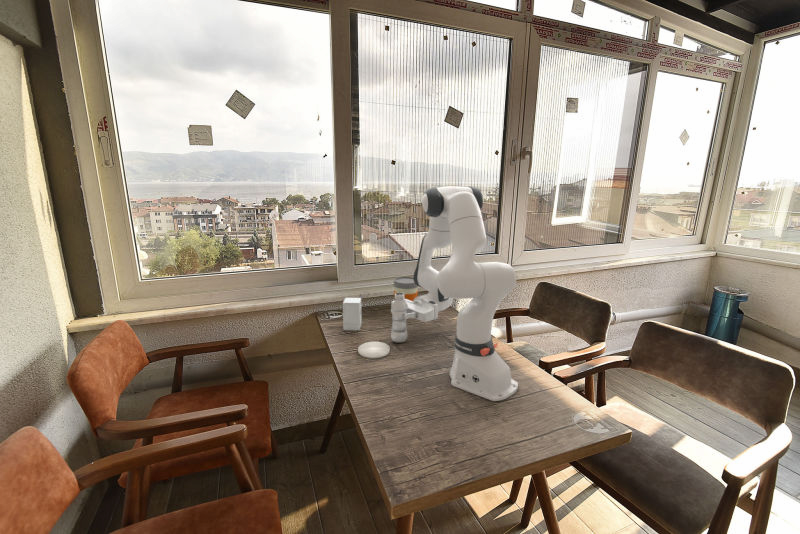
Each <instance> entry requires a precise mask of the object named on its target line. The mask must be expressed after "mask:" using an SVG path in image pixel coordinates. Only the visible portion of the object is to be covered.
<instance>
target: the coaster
mask: <svg viewBox="0 0 800 534" xmlns="http://www.w3.org/2000/svg"><path fill="white" fill-rule="evenodd" d="M390 349H391V348H390V346H389V344H387V343H385V342H383V341H381V342H380V341H368V342H364V343H362V344H360V345H359V346H358V348H357V351H358V355H360V356H362V357H364V358H368V359H380V358H383V357H386V356H388V355H389V354H390V351H391V350H390Z"/></svg>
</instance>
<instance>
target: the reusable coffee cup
mask: <svg viewBox="0 0 800 534" xmlns="http://www.w3.org/2000/svg"><path fill="white" fill-rule="evenodd" d="M393 287H394V290H393V294H394V296H395V293H404V297H405V299H408V300H410V301H413V300H414V299H415V298H416V297H418V294H419V290H418V288H419V286H417V285H416V284H415V283H414V278H413V276H399V277H396V278H394V279H393Z"/></svg>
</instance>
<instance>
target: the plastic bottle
mask: <svg viewBox="0 0 800 534" xmlns="http://www.w3.org/2000/svg"><path fill="white" fill-rule="evenodd" d="M404 299H405V297H404V293H395V295H394V300H395V301H394V300H393V301H394V302H393V304H392V306H391V305H390V307H391V309H392V313H391V314H392V325H391V333H390V338H391V339H390V340H392V342H395V343H397V344H398V343H405V342H406V340H407V338H408V330H407V319H405V318H403V314H405V313H407V310H408V305H407V303H406V302H405V300H404ZM391 309H390V310H391Z"/></svg>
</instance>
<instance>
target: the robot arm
mask: <svg viewBox="0 0 800 534" xmlns="http://www.w3.org/2000/svg"><path fill="white" fill-rule="evenodd" d="M421 199H422V200H421V201H422V202H421V205H422V209H423V212H424V214H425V215H426V216H428V217H429V223H428V224H429V226H428V231H427V233H425V234H424V236H423V238H422V240H421V243H420V247H419V251H418V252H419V253H418V256H417V257H418V259H417V263H416V267H415V269H414V272H413V275H412V277H413V278H414V283H415V284H416V285H417V286H418V288H422V289H423V290H426V291H428V293H426V294H423V295H419V296H417V297H416V298H415V299H414V300H413V301H410V300H408V299H404V300H405V302H406V303H407V305H408V310H407V313H405V314H403V318H405V319H406V320H408V319H415V320H418V321H421V322H424V323H425V322H430V321H434V320H437V319H438V316H439V315H438V313H439V312H441V311H444V310H446V309H448V308H449V307H450V306H452V304H453V302H454V299H457V300H458V299H459V300H463V299H465V300H466V299H471V301H470V302H469V303H468V304H466V305H464V307H462V308H461V309H460V310H459V312H458V314H457V317H456V318H457V319H456V320H457V321H456V334H455V335H454V349H455V350H454V356H453V361H452V365H451V368H450V371H449V376H450V379H451V383H450V384H451V386H453V387H455V388H457V389H460V390H463V391H465V392H468V393H471V394H473V395H476V396H477V397H482V398H484V399H487V400H489V401H491V402H498V401H504V400H505V399H508V398H510V397H511V396H513V395H514V394H516V393H517V391H518V389H519V382H518V381H516V380H514V379H513V378H512V374H511V373H512V372H511V368H510V366H509V365H508V364H507V363H506V361H504V360H503V359H502V357H501V356H500V355H499V354H498V352H497V351H496V348H497V347H498V344H499V343H498V342H496V343H495V344H494V341H493V339H492V328H493V321H494V317H495V314H496V311H497V309H498V307H499V306H500V304H501V302H503V299H504V298H505V297H506V296H508V295H509V294H510V293H511V292H513V290H514V289H515V287H516V285H517V274H516V271H515V269H514V268H513V266H512V265H510V264H509V263H504V262H499V261H487V262H476V261H475V255H477V254H478V253H479V252H481V251H482V250H483V249H484V248H485V246H486V244H487V233H486V229H485V224H484V220H483V215H482V209H483V206H484V196H483V193H482V191H481V190H480V188H478V187H475V186H468V187H467V186H453V185H450V186H447V185H446V186H439V187H435V186H434V187H430V188H426V190H425V191H424V192H423V194H422V198H421ZM450 246H451V254H450V257H449V259H448V261H447V263H446V264H445V265H444V266H443V267H441V269H440V270H439V271H438V270H437V269H435V268H434V267H433V266H432V265H431V262H432V257H433V253H434V250H435V249H436V250H437V249H444V248H447V247H450ZM394 301H395V299H394V300H392V301H391V305H390V307H391V306H392V304H393V302H394ZM390 314H392V309H390Z"/></svg>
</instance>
